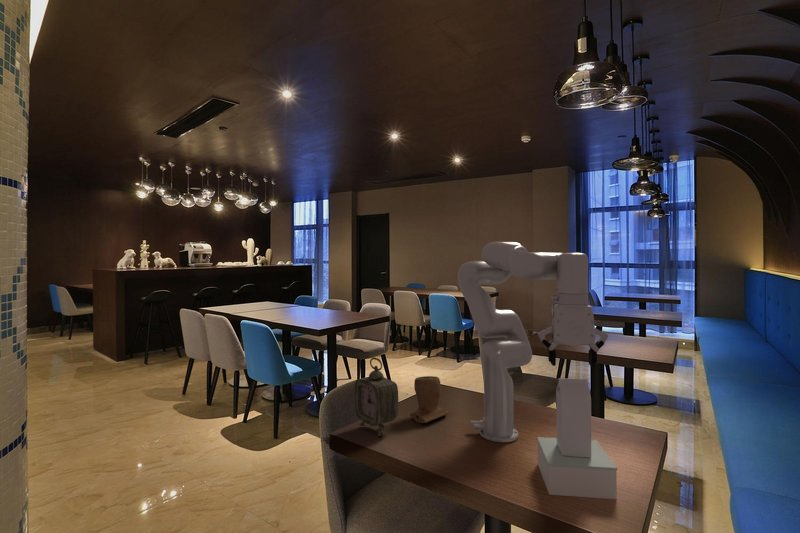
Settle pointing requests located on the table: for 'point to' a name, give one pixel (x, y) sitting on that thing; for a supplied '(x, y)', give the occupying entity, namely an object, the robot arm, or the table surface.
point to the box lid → (557, 460)
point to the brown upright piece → (428, 399)
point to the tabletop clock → (376, 399)
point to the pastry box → (578, 480)
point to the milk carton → (573, 417)
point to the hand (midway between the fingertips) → (572, 365)
